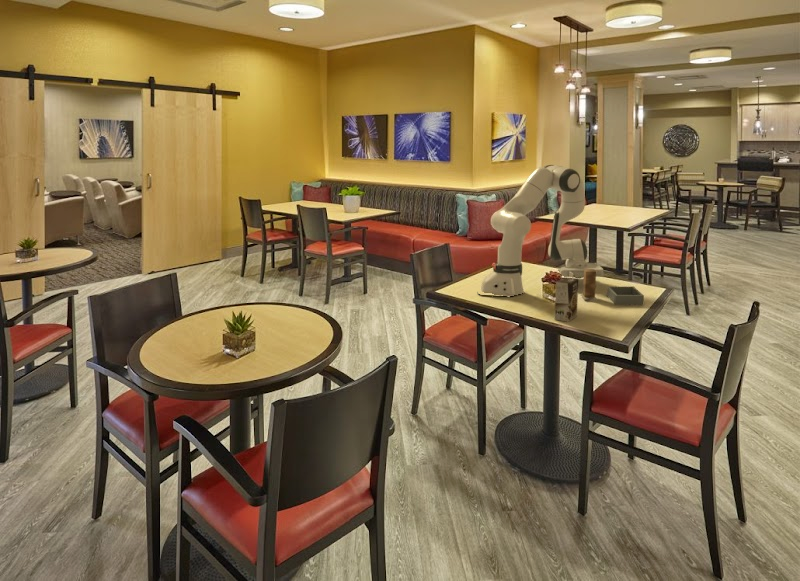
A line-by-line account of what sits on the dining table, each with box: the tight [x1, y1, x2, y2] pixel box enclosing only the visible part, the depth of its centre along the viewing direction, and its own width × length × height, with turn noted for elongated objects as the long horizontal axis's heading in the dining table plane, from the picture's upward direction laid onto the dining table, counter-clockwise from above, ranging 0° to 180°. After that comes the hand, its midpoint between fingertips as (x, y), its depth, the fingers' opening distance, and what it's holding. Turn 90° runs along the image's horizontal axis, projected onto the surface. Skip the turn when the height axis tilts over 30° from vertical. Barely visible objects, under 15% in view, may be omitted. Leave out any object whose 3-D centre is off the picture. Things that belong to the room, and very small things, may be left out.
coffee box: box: [553, 277, 580, 323], centre depth 228 cm, size 9×6×16 cm
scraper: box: [580, 269, 597, 302], centre depth 254 cm, size 5×9×13 cm, turn 173°
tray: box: [606, 285, 645, 306], centre depth 251 cm, size 12×16×4 cm
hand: (584, 275), depth 266 cm, fingers open, 8 cm apart
